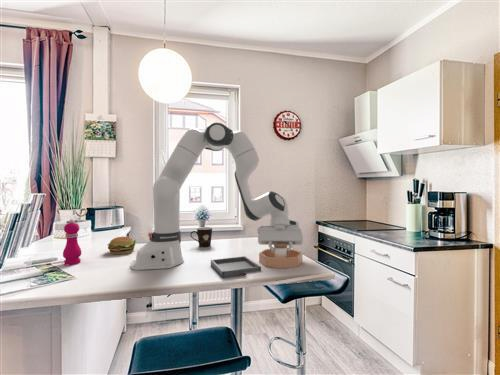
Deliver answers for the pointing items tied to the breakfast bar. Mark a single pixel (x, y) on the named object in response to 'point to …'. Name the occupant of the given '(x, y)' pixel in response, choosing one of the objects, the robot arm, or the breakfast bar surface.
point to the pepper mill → (71, 244)
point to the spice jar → (280, 250)
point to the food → (121, 245)
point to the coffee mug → (204, 236)
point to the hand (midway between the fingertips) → (280, 251)
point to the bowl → (280, 259)
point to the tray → (234, 266)
